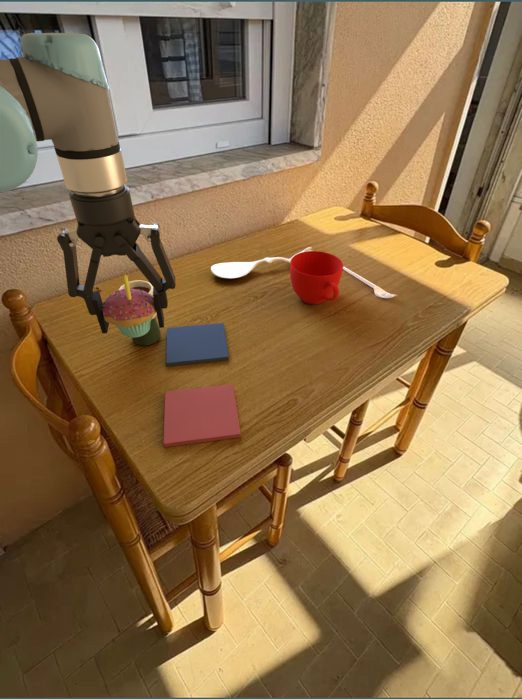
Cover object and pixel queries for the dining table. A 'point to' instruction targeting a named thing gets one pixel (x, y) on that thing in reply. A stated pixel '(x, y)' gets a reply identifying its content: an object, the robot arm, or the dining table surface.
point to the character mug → (154, 328)
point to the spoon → (244, 266)
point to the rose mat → (200, 415)
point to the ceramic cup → (315, 276)
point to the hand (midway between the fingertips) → (134, 325)
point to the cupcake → (130, 310)
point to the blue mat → (196, 344)
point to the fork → (377, 290)
